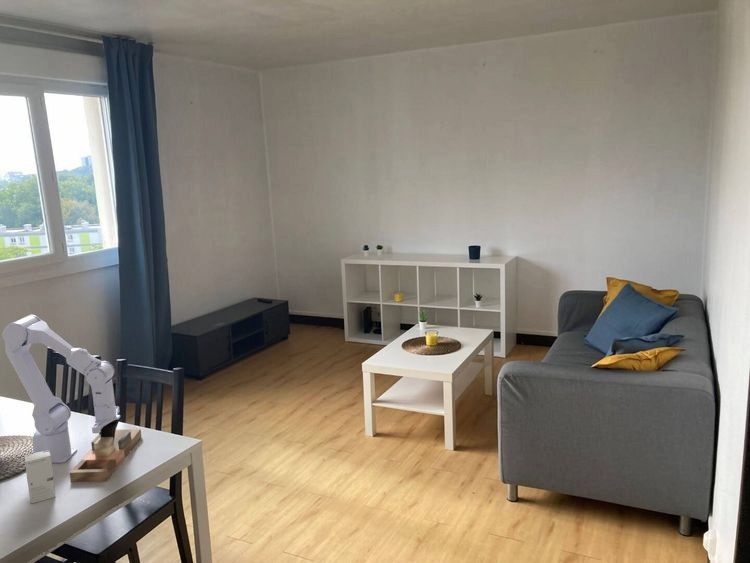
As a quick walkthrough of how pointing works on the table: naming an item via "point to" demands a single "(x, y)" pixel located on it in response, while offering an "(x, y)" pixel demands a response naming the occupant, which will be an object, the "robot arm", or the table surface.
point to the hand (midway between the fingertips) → (109, 444)
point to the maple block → (104, 446)
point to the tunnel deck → (105, 458)
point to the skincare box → (39, 476)
